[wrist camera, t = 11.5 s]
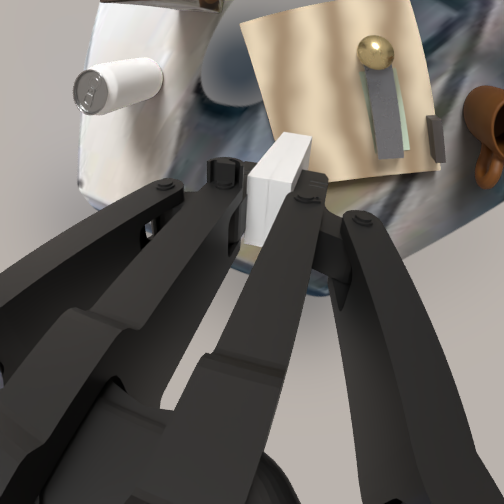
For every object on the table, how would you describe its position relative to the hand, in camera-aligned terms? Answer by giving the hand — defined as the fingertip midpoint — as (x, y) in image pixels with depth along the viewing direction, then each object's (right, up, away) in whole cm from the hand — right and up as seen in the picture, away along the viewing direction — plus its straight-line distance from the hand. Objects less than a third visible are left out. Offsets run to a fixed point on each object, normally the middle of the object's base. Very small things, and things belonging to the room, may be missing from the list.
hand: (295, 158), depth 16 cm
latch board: (+9, +15, +18) cm, 25 cm away
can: (-17, +20, +23) cm, 35 cm away
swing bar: (+12, +13, +15) cm, 23 cm away
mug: (+26, +11, +15) cm, 32 cm away
